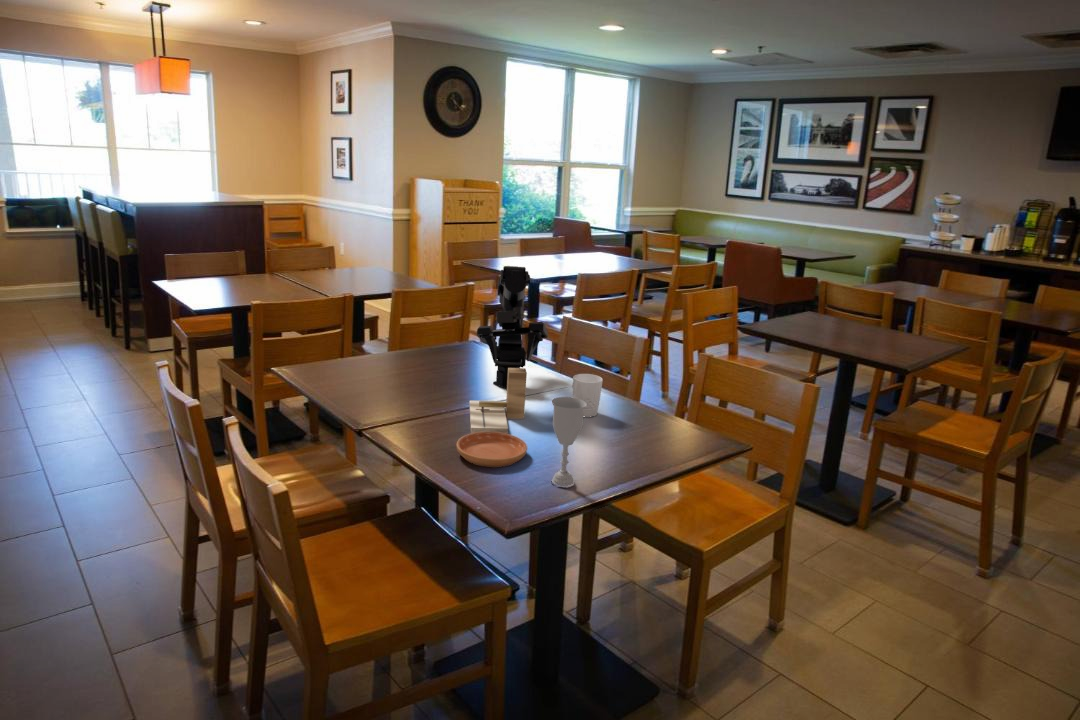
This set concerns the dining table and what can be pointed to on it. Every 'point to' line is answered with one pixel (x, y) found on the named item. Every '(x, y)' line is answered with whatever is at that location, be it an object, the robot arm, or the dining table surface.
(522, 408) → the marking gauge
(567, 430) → the chalice
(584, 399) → the white cup
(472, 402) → the birch board
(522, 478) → the dining table surface
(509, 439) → the saucer
